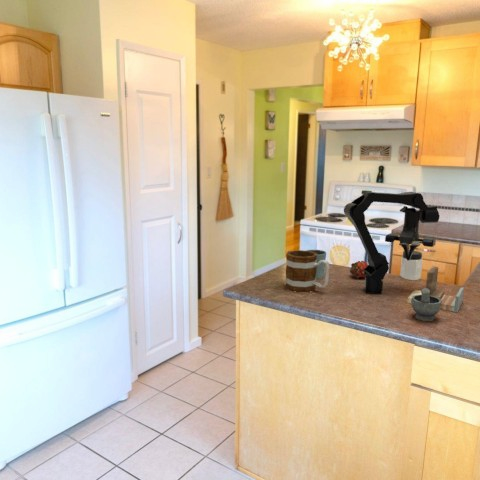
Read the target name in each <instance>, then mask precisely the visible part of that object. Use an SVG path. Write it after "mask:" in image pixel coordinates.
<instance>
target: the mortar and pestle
mask: <svg viewBox="0 0 480 480" xmlns="http://www.w3.org/2000/svg"><path fill="white" fill-rule="evenodd" d="M420 291H421V293H422V295H414V296H413V297H412V299H411V303H410V304H411V308H412V310H413V311H414V312H415V318H416V319H417V320H419V321H422V322H431V321H434V320H435V316H436V315H438V313H439V312H440V311H441V309H440V307H441V304H442V300H441V299H439V298H437V297H434V296H430V295H429V294H430V290H429V289H427V288H426V287H425V288H422V289H421V290H420Z"/></svg>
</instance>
